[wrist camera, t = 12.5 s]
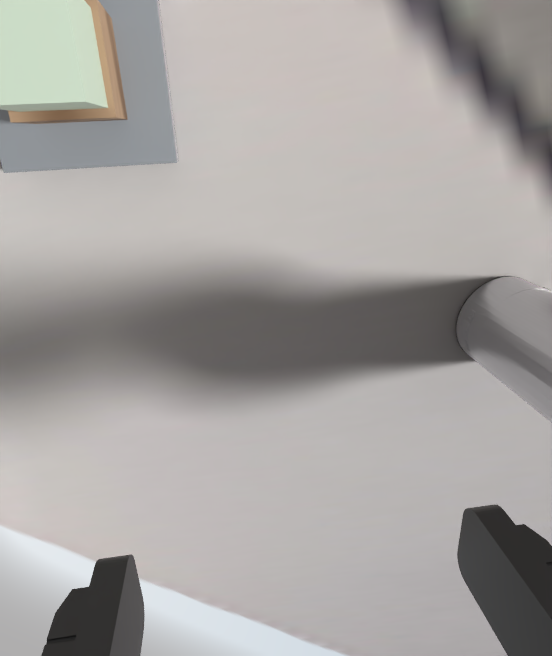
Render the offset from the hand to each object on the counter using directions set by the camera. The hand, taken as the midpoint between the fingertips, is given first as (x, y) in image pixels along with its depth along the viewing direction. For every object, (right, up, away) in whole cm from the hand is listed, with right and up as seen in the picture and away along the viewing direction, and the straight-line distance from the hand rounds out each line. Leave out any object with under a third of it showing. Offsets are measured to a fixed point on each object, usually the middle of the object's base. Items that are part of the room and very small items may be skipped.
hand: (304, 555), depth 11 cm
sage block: (-13, +21, +15) cm, 29 cm away
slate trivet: (-15, +24, +22) cm, 36 cm away
